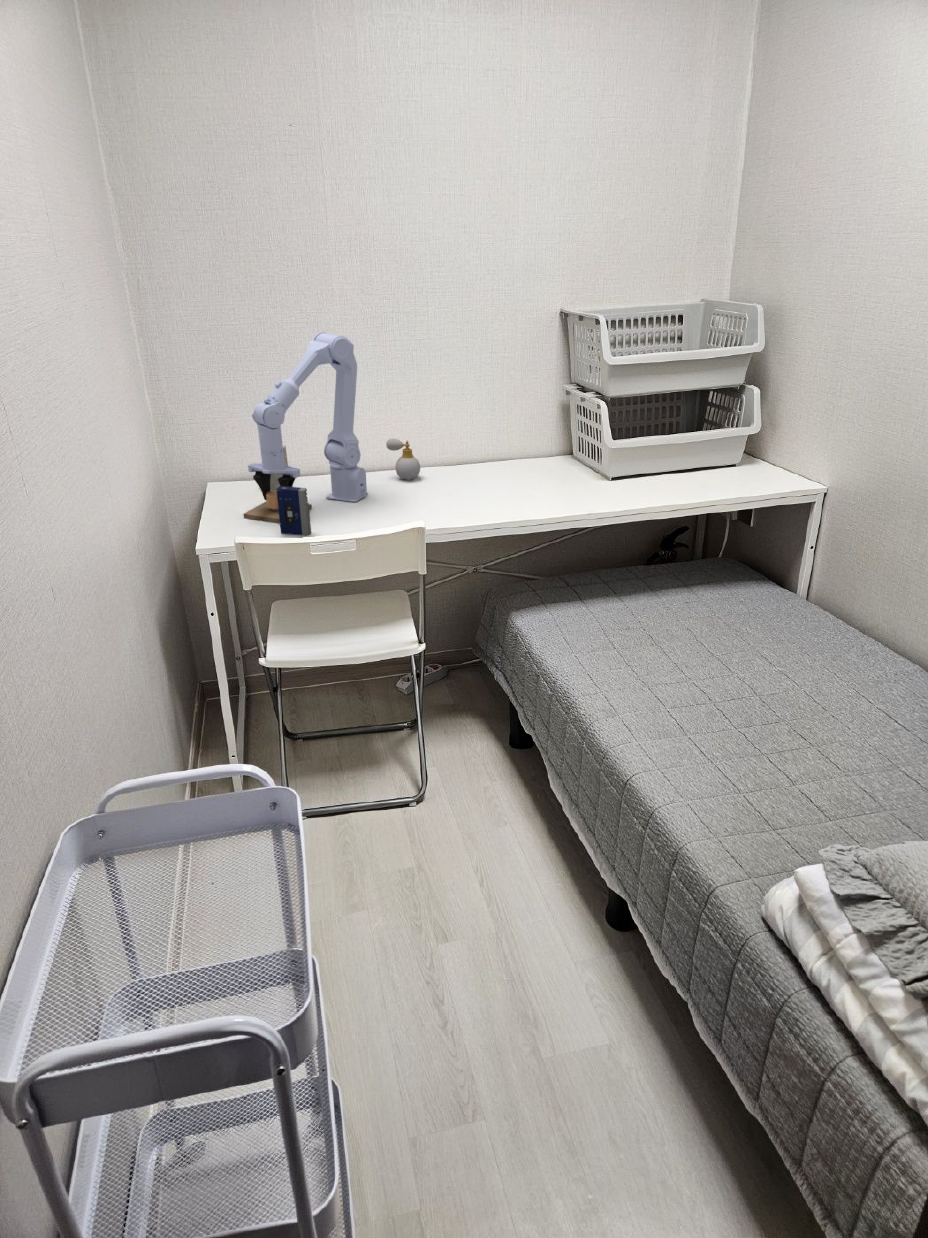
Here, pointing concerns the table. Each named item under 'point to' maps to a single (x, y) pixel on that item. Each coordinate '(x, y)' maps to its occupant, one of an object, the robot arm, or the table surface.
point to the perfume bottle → (404, 460)
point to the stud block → (265, 513)
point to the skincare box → (274, 478)
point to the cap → (272, 499)
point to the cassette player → (293, 510)
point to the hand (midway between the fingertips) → (277, 500)
